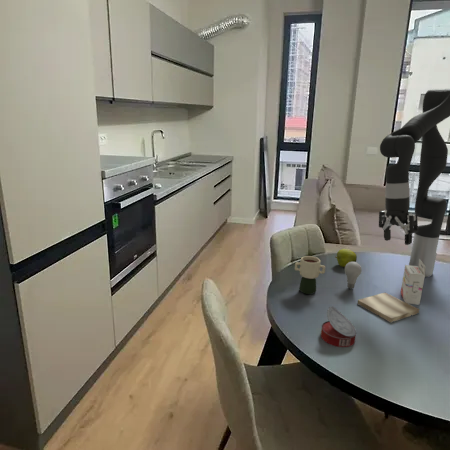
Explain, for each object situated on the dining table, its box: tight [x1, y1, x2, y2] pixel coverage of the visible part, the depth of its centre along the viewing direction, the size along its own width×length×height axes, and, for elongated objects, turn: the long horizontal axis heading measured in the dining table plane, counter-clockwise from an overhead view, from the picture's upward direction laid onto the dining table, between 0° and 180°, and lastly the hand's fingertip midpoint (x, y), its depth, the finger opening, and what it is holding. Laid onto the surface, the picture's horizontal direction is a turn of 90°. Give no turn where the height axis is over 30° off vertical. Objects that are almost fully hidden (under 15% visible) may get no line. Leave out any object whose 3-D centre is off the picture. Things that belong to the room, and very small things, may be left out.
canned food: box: [320, 306, 357, 348], centre depth 112 cm, size 11×10×10 cm
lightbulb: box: [344, 261, 363, 290], centre depth 144 cm, size 6×6×11 cm
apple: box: [334, 248, 357, 268], centre depth 166 cm, size 8×9×8 cm
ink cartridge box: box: [400, 259, 426, 306], centre depth 137 cm, size 9×5×15 cm, turn 168°
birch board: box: [357, 292, 420, 323], centre depth 131 cm, size 14×14×2 cm
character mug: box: [294, 255, 326, 295], centre depth 140 cm, size 11×7×13 cm, turn 76°
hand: (397, 242), depth 131 cm, fingers open, 8 cm apart
